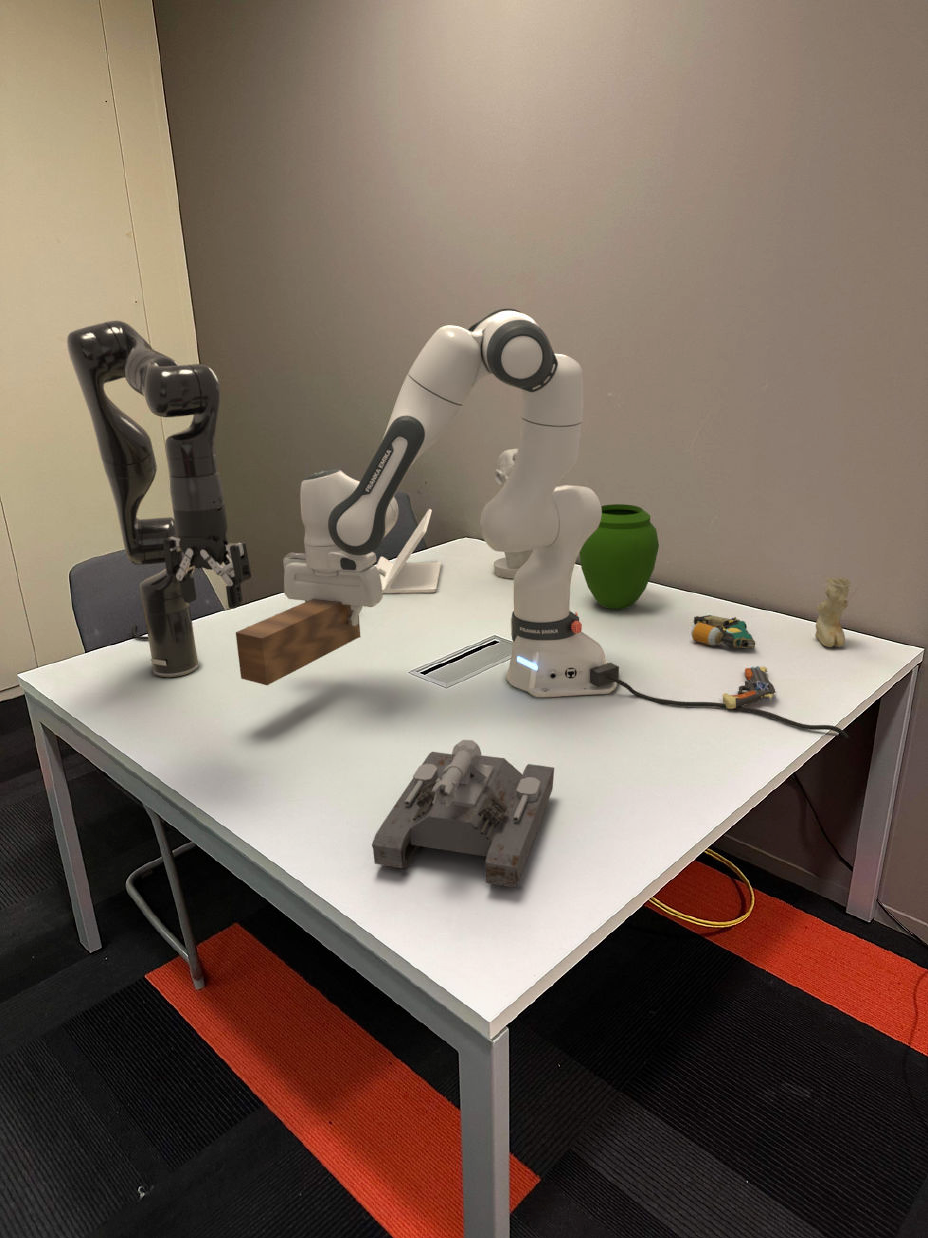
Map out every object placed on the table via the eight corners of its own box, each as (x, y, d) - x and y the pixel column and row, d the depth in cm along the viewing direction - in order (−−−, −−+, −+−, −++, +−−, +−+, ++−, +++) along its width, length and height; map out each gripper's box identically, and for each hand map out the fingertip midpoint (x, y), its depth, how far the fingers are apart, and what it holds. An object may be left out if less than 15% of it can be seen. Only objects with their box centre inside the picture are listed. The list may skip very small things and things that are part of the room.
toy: (433, 778, 139) (429, 695, 134) (554, 794, 134) (555, 708, 128) (373, 873, 117) (366, 778, 111) (516, 898, 111) (515, 799, 106)
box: (335, 631, 173) (332, 590, 170) (360, 636, 170) (357, 594, 167) (240, 678, 152) (235, 632, 149) (267, 685, 149) (262, 638, 146)
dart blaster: (695, 623, 202) (761, 634, 196) (681, 644, 188) (752, 656, 182) (698, 606, 201) (764, 616, 195) (683, 626, 187) (755, 637, 181)
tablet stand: (441, 564, 250) (438, 507, 244) (436, 592, 227) (433, 530, 221) (379, 565, 251) (376, 509, 245) (368, 593, 228) (364, 531, 222)
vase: (599, 587, 227) (601, 497, 218) (668, 600, 216) (673, 505, 208) (562, 608, 212) (564, 513, 204) (634, 623, 202) (639, 523, 193)
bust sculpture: (503, 593, 225) (502, 460, 212) (483, 567, 247) (480, 445, 234) (562, 587, 228) (563, 456, 215) (536, 562, 250) (536, 441, 237)
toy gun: (724, 699, 158) (781, 696, 155) (715, 664, 175) (766, 661, 173) (725, 713, 158) (782, 710, 156) (716, 677, 176) (766, 674, 174)
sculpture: (821, 649, 184) (830, 583, 179) (808, 637, 191) (816, 573, 185) (848, 649, 184) (858, 582, 179) (834, 636, 191) (843, 572, 185)
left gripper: (143, 505, 128) (160, 607, 134) (221, 511, 123) (235, 617, 128) (176, 495, 134) (191, 592, 140) (252, 500, 129) (264, 601, 135)
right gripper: (273, 556, 164) (281, 623, 169) (368, 563, 157) (373, 633, 161) (291, 547, 169) (298, 613, 174) (383, 554, 162) (388, 622, 167)
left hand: (212, 604), depth 134 cm, fingers open, 8 cm apart
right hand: (335, 623), depth 168 cm, fingers closed on box, 6 cm apart
